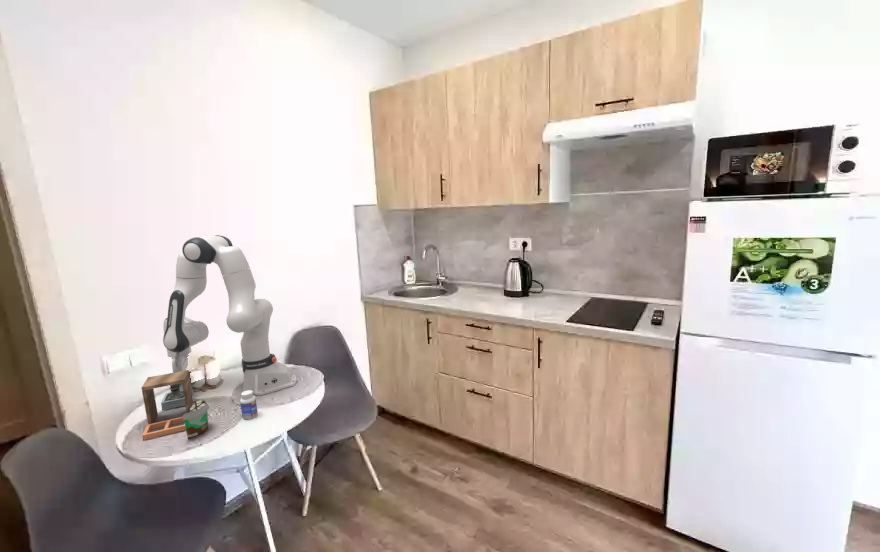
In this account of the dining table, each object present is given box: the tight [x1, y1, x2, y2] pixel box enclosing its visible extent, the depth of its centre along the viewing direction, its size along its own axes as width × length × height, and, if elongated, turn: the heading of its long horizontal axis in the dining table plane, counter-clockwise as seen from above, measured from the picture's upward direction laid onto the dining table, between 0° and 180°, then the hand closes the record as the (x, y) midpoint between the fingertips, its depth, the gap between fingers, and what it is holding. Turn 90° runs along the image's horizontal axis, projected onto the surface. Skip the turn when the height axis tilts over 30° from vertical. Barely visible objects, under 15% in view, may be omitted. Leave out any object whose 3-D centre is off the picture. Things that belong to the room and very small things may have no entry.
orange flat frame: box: [141, 416, 186, 441], centre depth 140 cm, size 13×8×2 cm, turn 116°
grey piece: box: [160, 371, 195, 411], centre depth 167 cm, size 10×26×5 cm, turn 26°
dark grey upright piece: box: [168, 384, 184, 401], centre depth 158 cm, size 6×6×12 cm
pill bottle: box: [239, 390, 258, 420], centre depth 146 cm, size 5×5×10 cm
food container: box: [182, 398, 210, 440], centre depth 138 cm, size 12×6×10 cm, turn 17°
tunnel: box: [141, 369, 194, 425], centre depth 147 cm, size 13×10×16 cm
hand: (183, 378), depth 175 cm, fingers closed
